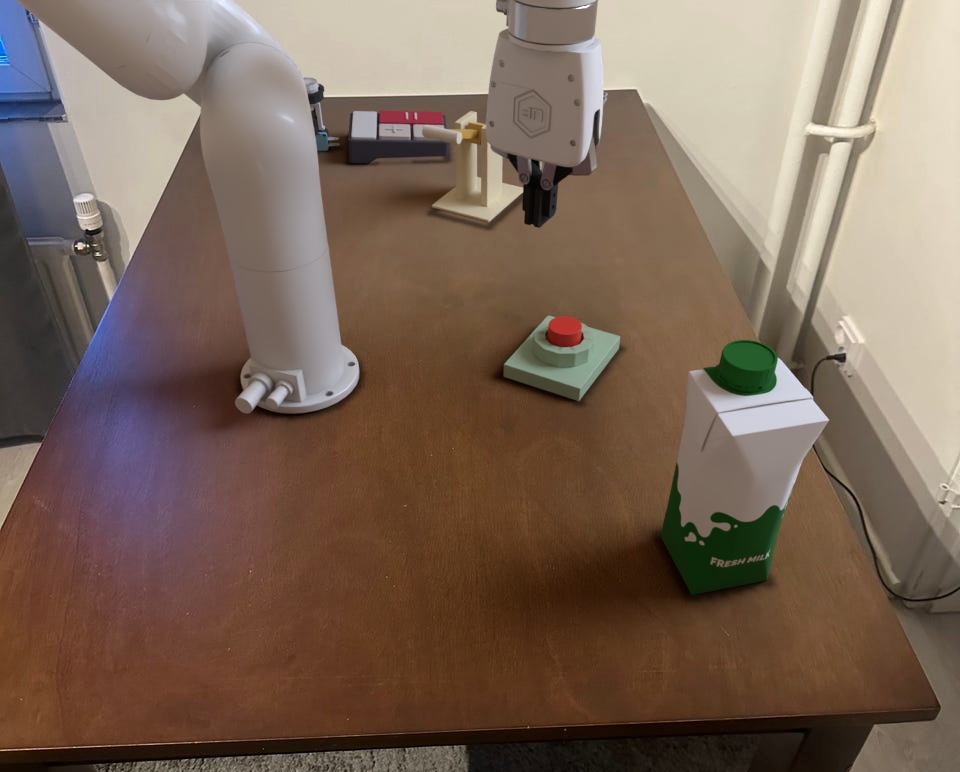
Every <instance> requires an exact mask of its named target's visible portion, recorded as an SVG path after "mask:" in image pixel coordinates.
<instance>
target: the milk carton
mask: <svg viewBox="0 0 960 772" xmlns="http://www.w3.org/2000/svg"><path fill="white" fill-rule="evenodd" d="M686 388H687V389H686V400H685V413H684V422H683V430H682V434H681V440H680V444H679V449H678V453H677V459H676V463H675V468H674V473H673V477H672V482H671V487H670V492H669V495H668V496H669V497H668V501H667V505H666V511H665V514H664V519H663V523H662V527H661V531H660V538H661V540H662V542H663V543H664V546H665V547H666V549H667V550H668V553H669V555H670V557H671V559H672V560H673V563H674V564H675V566H676V568H677V570H678V572H679V574H680V575H681V578H682V579H683V581H684V584H685V585H686V587H687V589H688V591H689V592H690V595H691V596H695V595H700V594H704V593H705V594H706V593H711V592H714V591H720V590H725V589H731V588H735V587H740V586H746V585H752V584H756V583H757V584H758V583H763V582H766V581H768V580H769V576H770V570H771V566H772V561H773V557H774V553H775V548H776V545H777V539H778V534H779V531H780V528H781V525H782V522H783V518H784V517H785V513H786V510H787V507H788V504H789V502H790V498H791V496H792V492H793V489H794V486H795V483H796V481H797V478H798V475H799V472H800V469H801V466H802V464H803V461H804V460H805V458H806V456H807V454H808V453H809V451H810V450H811V448H812V447H813V445H814V444H815V442H816V441H817V439H818V437H819V436H820V435H821V433H822V432H823V431H824V429H825V427H826V426H827V425H828V423H829V421H830V419H829V418H828V417H827V415H826V414H825V413H824V412H823V411H822V409H821V408H820V407H819V406H818V405H817V403H816V402H815V401H814V396H813V395H812V394H811V393H810V391H809V390H808V389H807V388H806V387H804V385H802V383H801V382H800V381H799V379H798V378H797V377H796V376H795V374H794V373H793V372H792V371H791V370H790V369H789V368H788V367H787V365H786V364H785V363H784V362H783V360H781V358H779V357H778V355H777V353H776V351H775V350H774V349H773V348H771V347H770V346H768V345H767V344H765V343H763V342H760V341H757V340H751V339H737V340H733V341H730V342H729V343H727V344H725V345H724V347H723V349H722V350H721V354H720V358H719V363H718V364H716V365H714V366H707V367H703V369H695V370H690V371H688V375H687V387H686Z"/></svg>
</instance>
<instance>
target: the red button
mask: <svg viewBox="0 0 960 772" xmlns="http://www.w3.org/2000/svg"><path fill="white" fill-rule="evenodd" d="M581 323H582V322H581V321H580V320H578V318H575V317H572V316H567V315H563V316H557V317H556V318H554V319H552V320H551V321H550V322H549V324H548V341H549V343H550V344H552V345H555V346H558V347H573V346H576V345H578V344H579V343H580V341H581V332H582V324H581Z"/></svg>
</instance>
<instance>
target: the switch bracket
mask: <svg viewBox="0 0 960 772" xmlns="http://www.w3.org/2000/svg"><path fill="white" fill-rule="evenodd" d="M469 122H478V112H477V111H473V110H470V111H468V112H467V113H465V114H464V115H462V116H461V117H459V118H458V119H457V120H456V121H454V129H468V123H469ZM454 159H455V160H454V164H455V165H454V166H455V167H454V168H455V171H454V172H455V187H453V188H451V189H450V190H449V191H448V192H447V193H445V194H444V195H443V196H442V197H440V198H439V199H437V201H435V202H434V203H433V204H431V208H432V209H436V210H439V211H444V212H447V213H451V214H456V215H459V216H463V217H467V218H471V219H474V220H479V221H482V222H486V223H490V222H491V221H492V220H493V219H494V218H496V216H498V215H499V214H500V213H501V212H502V211H504V209H505V208H507V207H508V206H510V204H511V203H512V202H514V201H515V200H516V199H517V198H518V197H519V196H520V195H521V194H523V186H517V185H513V184H510V183H505V182H503V161H504V160H503V159H504V157H502V156H500V155H499V154H497V153H495V152H493V151H492V150H491V145H490V144H489V143H488V141H487V138H486V125H485V126H483V127H482V128H481V145H480V177H479V176H478V144H474V143H469V142H466V139H462V141H461V143H460V144H454Z"/></svg>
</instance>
